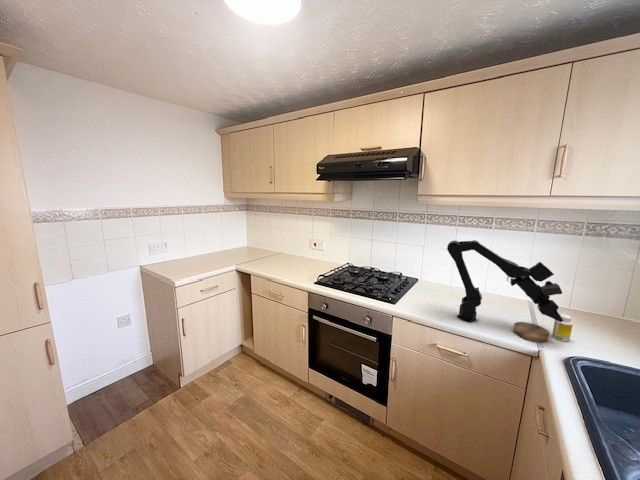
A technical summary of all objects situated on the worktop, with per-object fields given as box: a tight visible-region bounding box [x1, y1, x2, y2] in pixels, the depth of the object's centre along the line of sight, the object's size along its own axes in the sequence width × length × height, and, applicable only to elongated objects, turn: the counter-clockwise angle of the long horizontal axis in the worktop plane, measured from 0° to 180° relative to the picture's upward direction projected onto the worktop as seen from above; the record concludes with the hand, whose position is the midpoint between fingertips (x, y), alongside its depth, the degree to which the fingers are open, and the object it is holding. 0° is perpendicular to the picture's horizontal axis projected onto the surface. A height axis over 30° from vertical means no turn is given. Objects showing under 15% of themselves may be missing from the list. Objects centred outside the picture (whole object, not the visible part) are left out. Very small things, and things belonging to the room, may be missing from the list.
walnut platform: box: [512, 321, 550, 344], centre depth 114 cm, size 12×12×3 cm
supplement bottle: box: [551, 313, 573, 342], centre depth 111 cm, size 6×6×10 cm
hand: (558, 316), depth 111 cm, fingers open, 9 cm apart
